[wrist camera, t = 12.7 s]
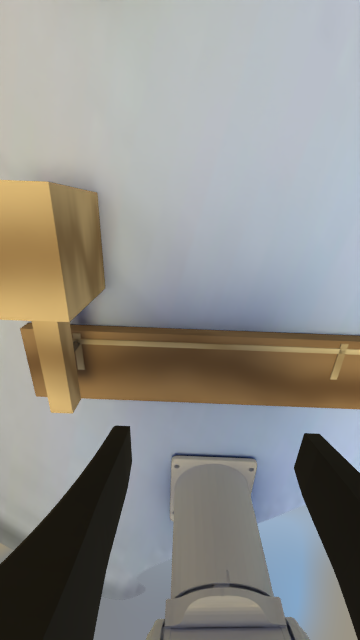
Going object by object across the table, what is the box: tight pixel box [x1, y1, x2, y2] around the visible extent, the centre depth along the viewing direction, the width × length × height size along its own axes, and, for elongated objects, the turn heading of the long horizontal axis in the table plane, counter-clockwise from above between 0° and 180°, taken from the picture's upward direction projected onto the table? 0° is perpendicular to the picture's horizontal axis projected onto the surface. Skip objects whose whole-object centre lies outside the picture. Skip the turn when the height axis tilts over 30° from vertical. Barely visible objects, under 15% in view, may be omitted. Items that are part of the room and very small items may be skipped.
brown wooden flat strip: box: [20, 323, 360, 409], centre depth 19 cm, size 6×28×1 cm, turn 88°
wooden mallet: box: [0, 180, 105, 413], centre depth 15 cm, size 13×4×6 cm, turn 178°
